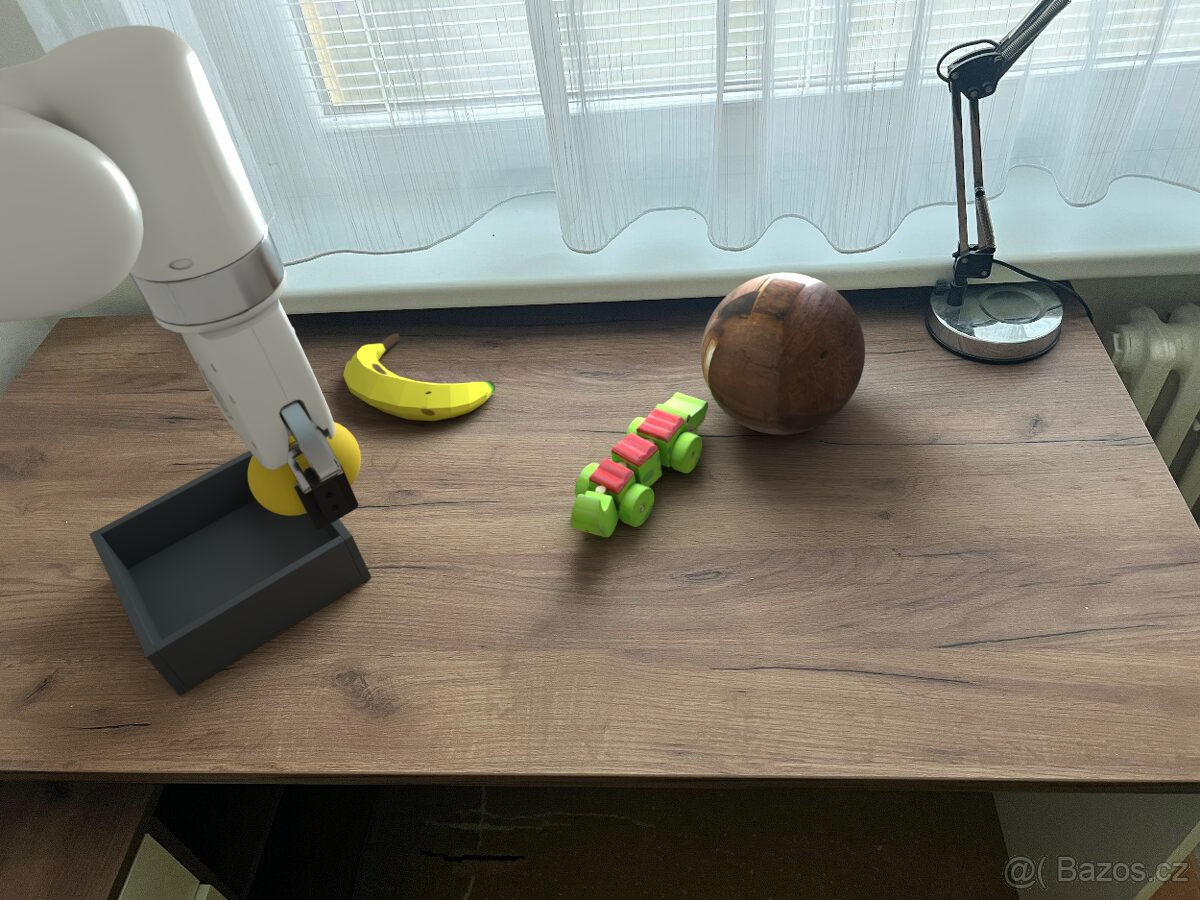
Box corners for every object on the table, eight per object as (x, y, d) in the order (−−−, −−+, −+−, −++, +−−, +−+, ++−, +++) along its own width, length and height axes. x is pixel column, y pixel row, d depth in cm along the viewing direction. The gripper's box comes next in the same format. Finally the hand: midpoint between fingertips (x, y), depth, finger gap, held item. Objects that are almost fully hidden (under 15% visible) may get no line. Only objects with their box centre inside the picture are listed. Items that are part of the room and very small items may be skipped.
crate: (179, 696, 71) (146, 657, 66) (120, 574, 80) (88, 533, 76) (372, 577, 77) (352, 535, 73) (295, 478, 87) (275, 436, 83)
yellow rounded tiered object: (285, 546, 58) (253, 489, 54) (253, 500, 62) (221, 444, 58) (384, 488, 61) (361, 430, 57) (349, 447, 65) (324, 390, 61)
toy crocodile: (671, 409, 89) (668, 362, 85) (727, 432, 86) (727, 385, 82) (549, 535, 79) (539, 490, 74) (608, 567, 75) (601, 521, 71)
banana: (479, 397, 87) (514, 326, 99) (314, 384, 89) (368, 316, 101) (483, 435, 89) (517, 361, 101) (323, 421, 92) (374, 351, 104)
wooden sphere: (858, 371, 90) (876, 245, 80) (852, 475, 80) (871, 346, 70) (714, 360, 94) (713, 237, 83) (690, 458, 84) (686, 333, 73)
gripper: (100, 243, 52) (222, 455, 65) (200, 373, 42) (321, 595, 55) (219, 195, 55) (313, 407, 68) (339, 306, 45) (424, 532, 58)
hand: (316, 489), depth 61 cm, fingers closed on yellow rounded tiered object, 5 cm apart
